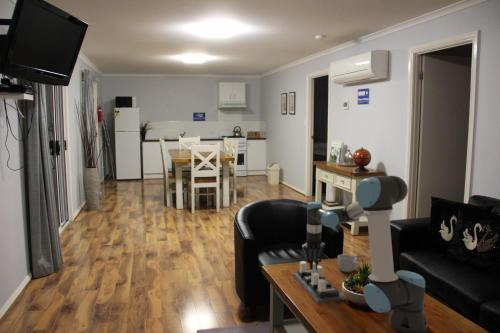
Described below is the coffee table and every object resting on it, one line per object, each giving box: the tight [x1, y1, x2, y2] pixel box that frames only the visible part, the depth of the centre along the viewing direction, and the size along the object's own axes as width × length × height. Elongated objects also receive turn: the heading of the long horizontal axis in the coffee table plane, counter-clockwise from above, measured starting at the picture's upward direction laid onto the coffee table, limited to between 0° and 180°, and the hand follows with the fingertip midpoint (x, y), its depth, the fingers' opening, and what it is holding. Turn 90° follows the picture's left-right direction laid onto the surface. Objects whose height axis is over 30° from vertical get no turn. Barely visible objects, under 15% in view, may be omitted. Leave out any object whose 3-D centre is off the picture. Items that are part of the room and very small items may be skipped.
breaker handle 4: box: [318, 279, 326, 292], centre depth 194 cm, size 3×3×5 cm
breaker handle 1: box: [299, 260, 308, 273], centre depth 217 cm, size 3×3×5 cm
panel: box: [293, 268, 345, 304], centre depth 207 cm, size 32×14×4 cm, turn 15°
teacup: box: [337, 253, 359, 273], centre depth 227 cm, size 14×11×8 cm
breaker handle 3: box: [316, 265, 324, 277], centre depth 210 cm, size 3×3×5 cm
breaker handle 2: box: [311, 273, 319, 285], centre depth 201 cm, size 3×3×5 cm
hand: (313, 274), depth 210 cm, fingers closed
